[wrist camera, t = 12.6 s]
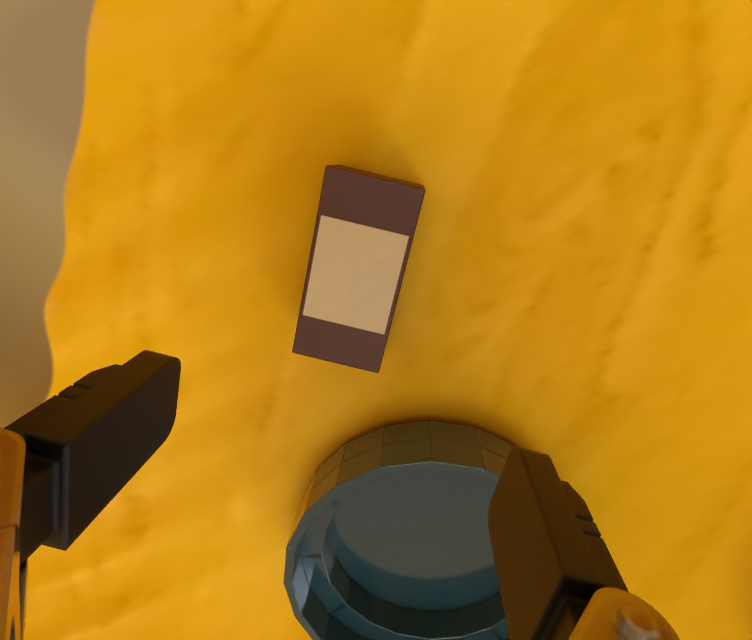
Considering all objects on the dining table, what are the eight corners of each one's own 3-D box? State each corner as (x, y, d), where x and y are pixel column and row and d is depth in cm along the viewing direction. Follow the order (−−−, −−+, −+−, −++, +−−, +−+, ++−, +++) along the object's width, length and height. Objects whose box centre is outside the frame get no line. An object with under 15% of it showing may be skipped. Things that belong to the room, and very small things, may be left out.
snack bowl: (429, 363, 26) (432, 401, 22) (617, 534, 29) (651, 597, 25) (251, 524, 31) (226, 580, 27) (428, 658, 34) (430, 728, 30)
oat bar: (337, 164, 23) (325, 165, 20) (423, 185, 23) (425, 189, 20) (306, 329, 26) (291, 353, 23) (382, 347, 26) (378, 374, 23)
